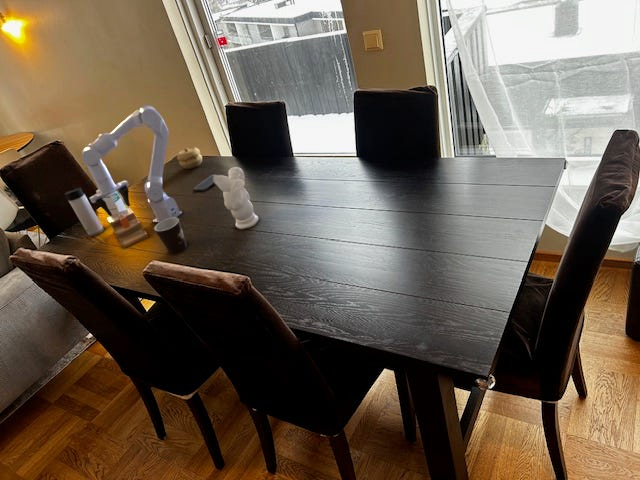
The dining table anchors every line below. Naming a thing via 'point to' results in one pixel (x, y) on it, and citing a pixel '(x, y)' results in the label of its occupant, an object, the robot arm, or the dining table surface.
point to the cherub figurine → (237, 197)
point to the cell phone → (205, 184)
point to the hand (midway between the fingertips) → (119, 210)
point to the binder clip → (124, 221)
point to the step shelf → (130, 233)
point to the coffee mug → (171, 235)
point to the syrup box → (114, 202)
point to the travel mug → (84, 211)
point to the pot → (189, 158)
